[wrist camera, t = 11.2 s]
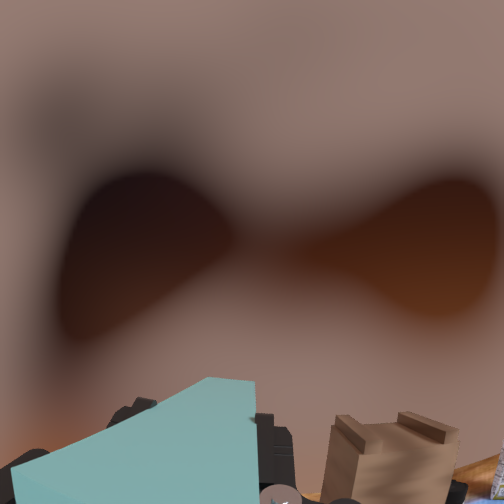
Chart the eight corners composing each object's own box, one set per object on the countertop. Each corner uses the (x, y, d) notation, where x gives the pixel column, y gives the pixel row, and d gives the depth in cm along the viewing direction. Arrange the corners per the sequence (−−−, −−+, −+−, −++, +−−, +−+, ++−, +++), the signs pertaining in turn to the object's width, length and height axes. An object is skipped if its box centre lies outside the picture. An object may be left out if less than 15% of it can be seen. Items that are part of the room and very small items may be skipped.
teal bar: (48, 604, 2) (10, 467, 3) (204, 420, 25) (207, 376, 26) (240, 657, 2) (261, 539, 3) (250, 425, 25) (254, 381, 26)
